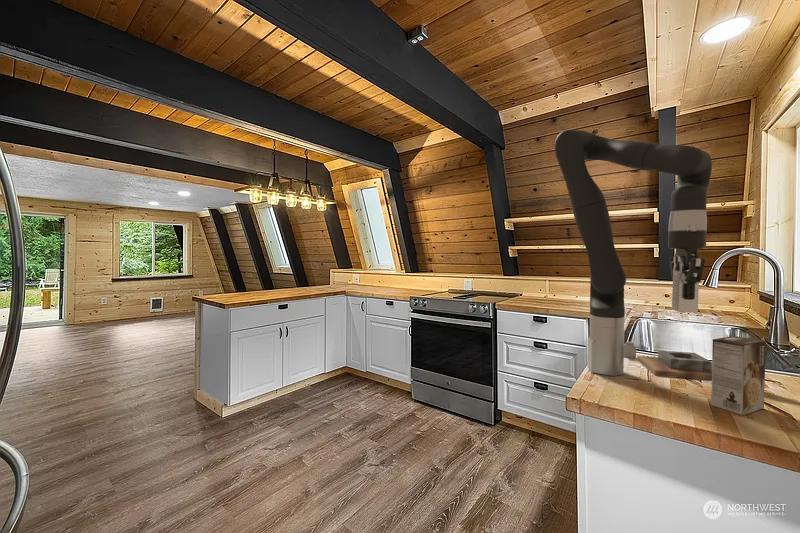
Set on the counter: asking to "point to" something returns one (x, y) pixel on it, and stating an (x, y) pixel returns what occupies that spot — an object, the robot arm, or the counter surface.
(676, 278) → the key peg
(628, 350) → the grey rectangular block
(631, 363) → the counter surface
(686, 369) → the dock
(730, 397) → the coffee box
